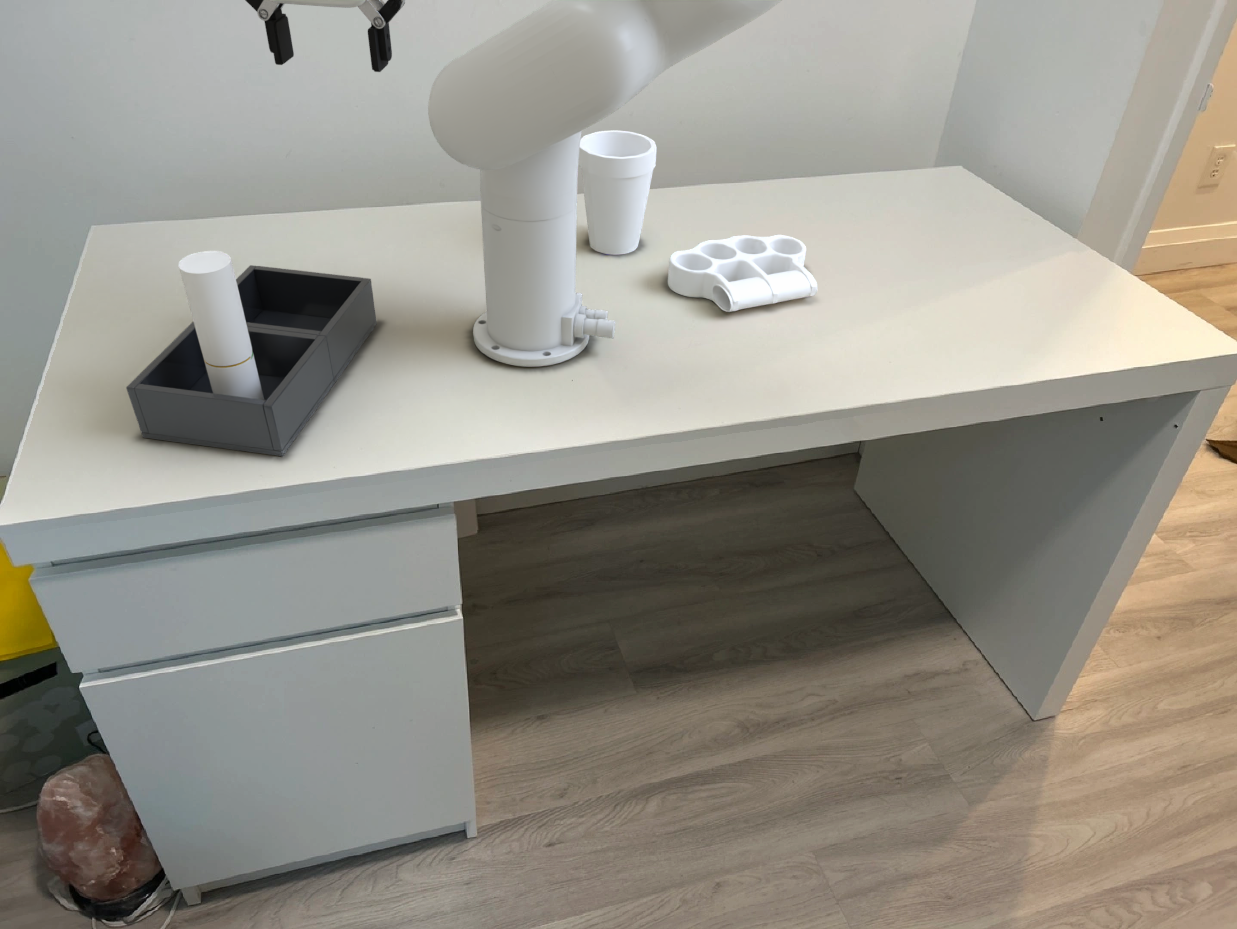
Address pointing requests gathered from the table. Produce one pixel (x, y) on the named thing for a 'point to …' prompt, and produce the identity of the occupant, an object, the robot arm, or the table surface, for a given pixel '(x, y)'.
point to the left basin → (191, 413)
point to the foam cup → (616, 187)
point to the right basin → (311, 307)
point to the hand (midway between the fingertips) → (332, 64)
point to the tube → (220, 323)
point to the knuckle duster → (743, 271)
